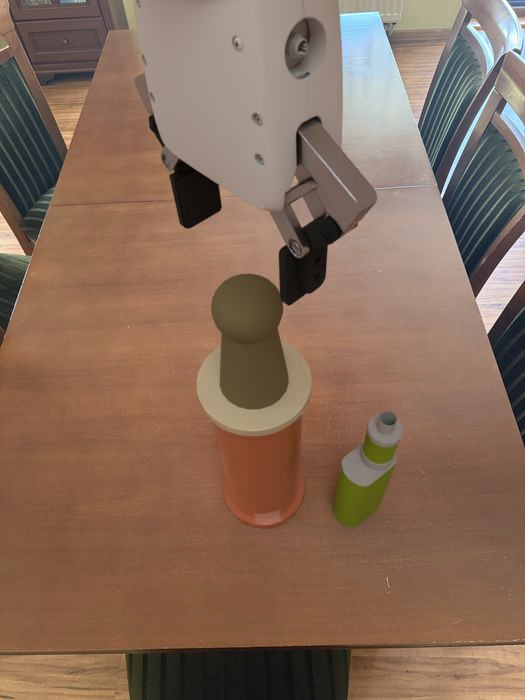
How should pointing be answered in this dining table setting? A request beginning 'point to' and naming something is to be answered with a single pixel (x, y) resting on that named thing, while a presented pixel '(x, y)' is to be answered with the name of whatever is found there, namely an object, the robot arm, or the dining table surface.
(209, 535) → the dining table surface
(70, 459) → the dining table surface
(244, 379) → the olive pawn
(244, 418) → the column
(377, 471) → the vape
